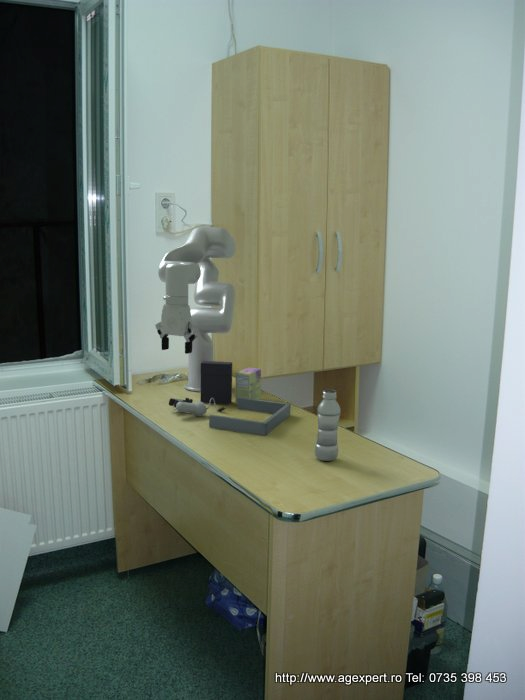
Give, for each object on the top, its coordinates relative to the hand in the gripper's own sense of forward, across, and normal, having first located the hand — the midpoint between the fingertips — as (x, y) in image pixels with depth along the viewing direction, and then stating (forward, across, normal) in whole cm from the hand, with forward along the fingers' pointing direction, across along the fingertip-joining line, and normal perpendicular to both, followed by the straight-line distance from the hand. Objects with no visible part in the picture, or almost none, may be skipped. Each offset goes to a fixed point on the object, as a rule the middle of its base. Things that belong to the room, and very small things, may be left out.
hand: (176, 351), depth 229 cm
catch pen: (+21, +26, +5) cm, 34 cm away
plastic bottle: (+21, +62, -14) cm, 67 cm away
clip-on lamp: (+22, +7, +3) cm, 23 cm away
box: (+21, +14, +24) cm, 35 cm away
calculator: (+21, +5, +17) cm, 28 cm away
